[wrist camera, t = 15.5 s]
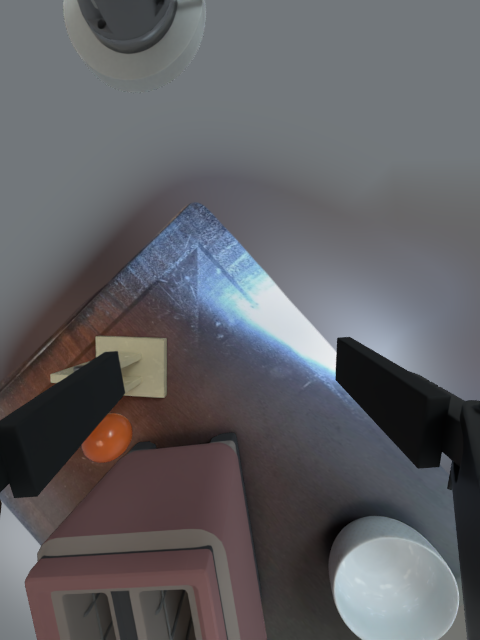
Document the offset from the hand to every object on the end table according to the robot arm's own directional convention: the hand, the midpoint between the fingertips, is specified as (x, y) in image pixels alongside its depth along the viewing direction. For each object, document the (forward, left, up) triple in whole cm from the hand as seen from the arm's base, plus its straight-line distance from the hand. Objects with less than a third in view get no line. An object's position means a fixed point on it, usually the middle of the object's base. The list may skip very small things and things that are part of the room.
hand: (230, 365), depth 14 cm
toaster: (+17, +33, -25) cm, 44 cm away
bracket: (+21, +2, -25) cm, 32 cm away
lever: (+15, +3, -9) cm, 18 cm away
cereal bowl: (-11, +41, -25) cm, 49 cm away
